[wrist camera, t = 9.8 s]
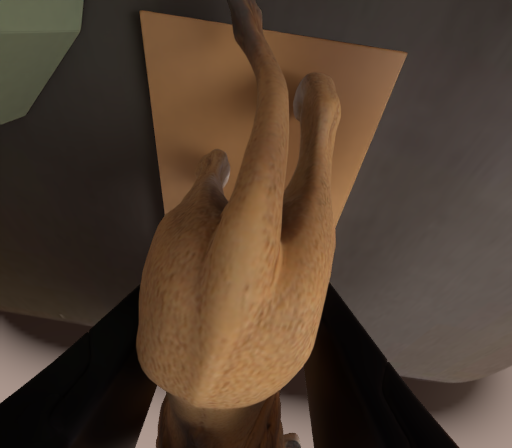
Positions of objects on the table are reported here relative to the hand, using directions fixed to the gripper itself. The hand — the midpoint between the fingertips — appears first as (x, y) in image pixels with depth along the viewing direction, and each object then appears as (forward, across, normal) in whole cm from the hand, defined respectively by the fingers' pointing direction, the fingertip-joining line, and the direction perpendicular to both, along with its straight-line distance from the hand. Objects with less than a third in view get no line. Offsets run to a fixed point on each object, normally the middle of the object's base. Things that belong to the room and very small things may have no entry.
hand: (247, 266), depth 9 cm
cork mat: (+3, 0, 0) cm, 3 cm away
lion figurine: (+2, -1, 0) cm, 2 cm away
